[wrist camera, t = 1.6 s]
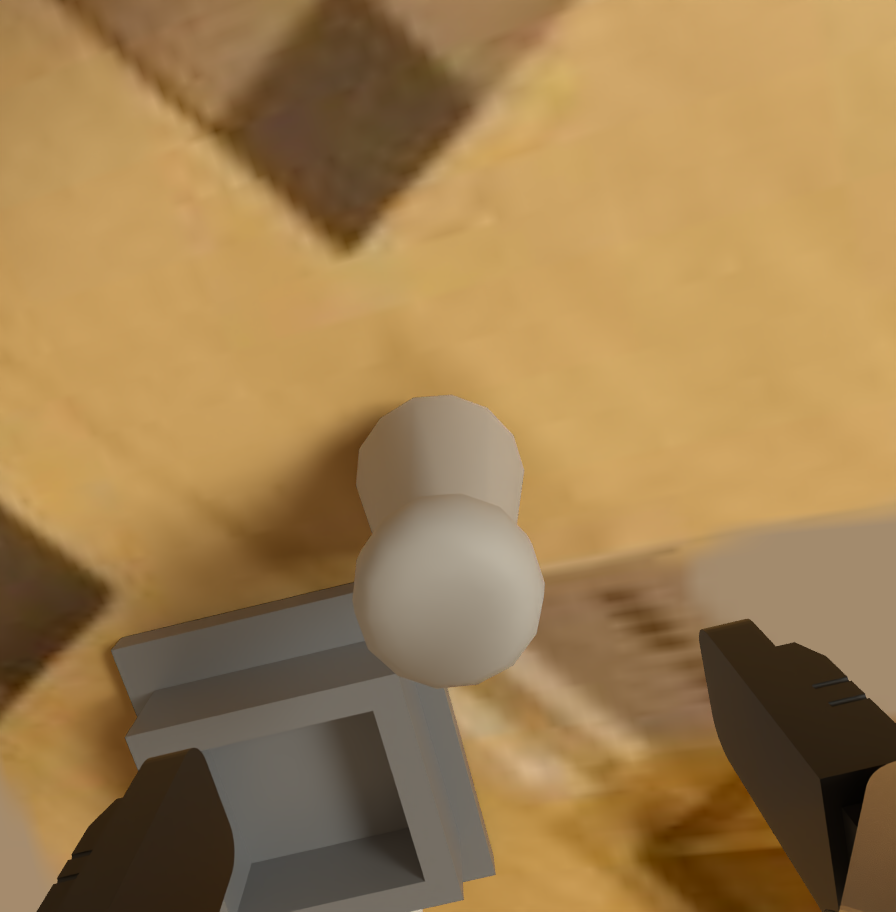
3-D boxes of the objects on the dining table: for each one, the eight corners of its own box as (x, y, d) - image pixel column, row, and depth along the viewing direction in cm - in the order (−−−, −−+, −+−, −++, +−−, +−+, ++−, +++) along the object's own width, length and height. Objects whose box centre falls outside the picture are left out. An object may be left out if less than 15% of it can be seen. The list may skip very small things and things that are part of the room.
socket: (121, 638, 30) (75, 693, 26) (414, 568, 29) (412, 613, 25) (230, 915, 33) (203, 1002, 29) (493, 856, 33) (502, 936, 29)
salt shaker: (370, 538, 29) (326, 747, 16) (352, 392, 28) (290, 498, 15) (520, 524, 29) (592, 723, 16) (511, 377, 28) (581, 472, 15)
